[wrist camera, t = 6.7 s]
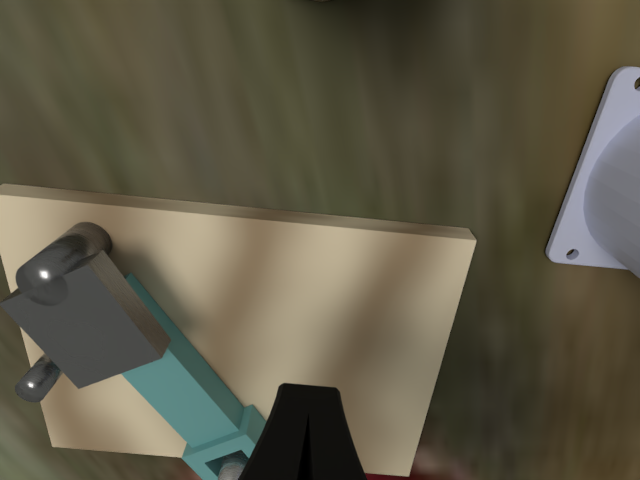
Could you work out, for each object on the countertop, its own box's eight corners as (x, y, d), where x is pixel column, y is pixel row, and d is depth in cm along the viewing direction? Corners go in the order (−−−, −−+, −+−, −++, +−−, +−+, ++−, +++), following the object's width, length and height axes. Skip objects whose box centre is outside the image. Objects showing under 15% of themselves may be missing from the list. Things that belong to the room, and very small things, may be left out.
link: (289, 449, 23) (286, 480, 22) (231, 469, 24) (224, 501, 23) (140, 267, 19) (122, 290, 17) (74, 301, 19) (50, 326, 18)
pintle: (254, 429, 23) (243, 489, 20) (254, 447, 24) (243, 508, 21) (228, 427, 23) (213, 487, 20) (228, 445, 23) (213, 506, 21)
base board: (468, 228, 19) (476, 240, 18) (405, 457, 25) (408, 476, 24) (4, 183, 18) (-17, 193, 17) (64, 428, 25) (52, 446, 24)
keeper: (197, 294, 21) (164, 361, 16) (80, 340, 22) (22, 413, 18) (128, 194, 18) (70, 242, 14) (3, 253, 20) (-83, 312, 16)
